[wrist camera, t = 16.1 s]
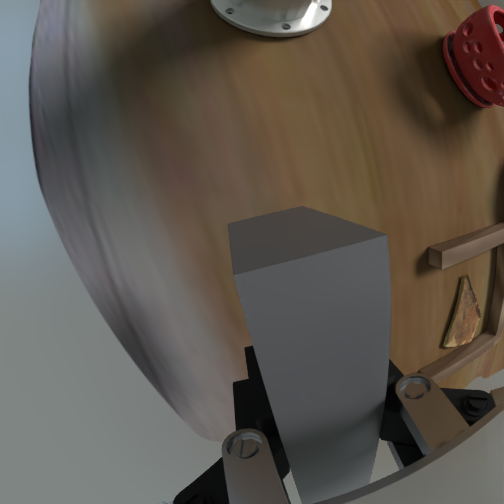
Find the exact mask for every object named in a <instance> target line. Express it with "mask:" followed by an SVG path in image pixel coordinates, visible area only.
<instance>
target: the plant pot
mask: <svg viewBox="0 0 504 504" xmlns="http://www.w3.org/2000/svg"><path fill="white" fill-rule="evenodd" d="M495 24H499V25H500V26H501V27H502V28H503V32H502V33H498V31H497V28H496V26H495ZM502 41H503V42H504V10H503V9H501V8H500V7H498V6H495V5H488V6H486V7H484V8H482V9H480V10H478V11H476V12H475V13H473V14H472V15H470V16H469V17H468V18H467V19H466V20H465V21H463V22H462V24H461V25H460V26H459V28H458V29H457V31H452V32H449V33H448V34H447V35H446V36H445V38H444V41H443V54H444V58H445V62H446V64H447V67H448V69H449V72H450V74H451V76H452V77H453V79H454V81H455V83H456V84H457V86H458V87H459V88H460V90H461V91H462V92H463V93H464V94H465V96H466V97H467V98H468V99H470V100H471V101H472V102H473V103H475V104H476V105H478V106H480V107H483V108H491V107H493V106H494V105H495V104H496V105H499V106H503V107H504V45H503V43H502Z"/></svg>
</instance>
